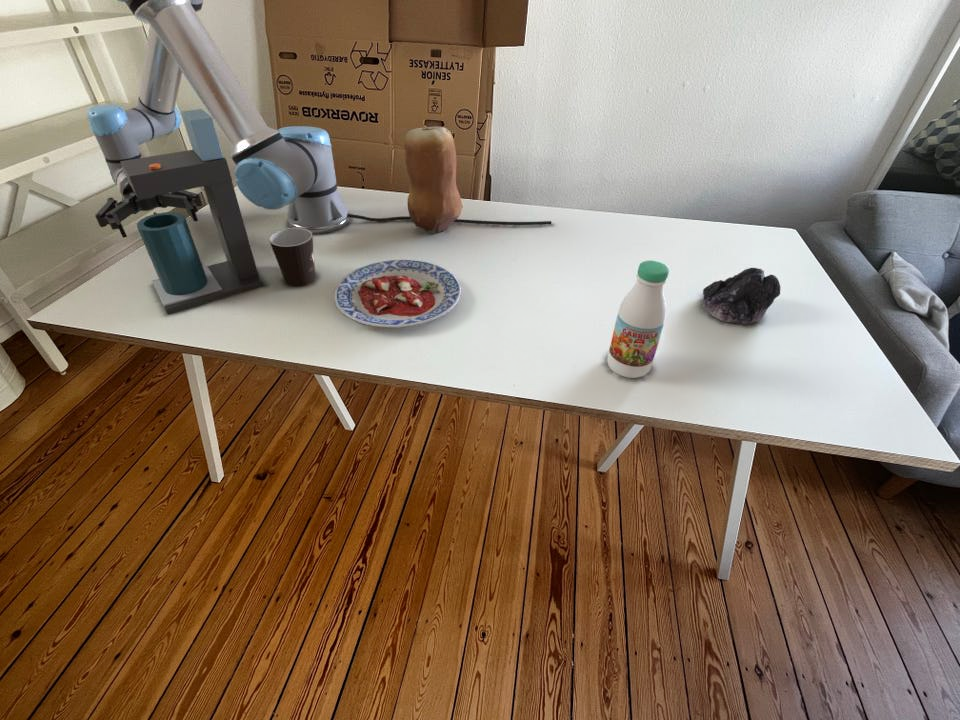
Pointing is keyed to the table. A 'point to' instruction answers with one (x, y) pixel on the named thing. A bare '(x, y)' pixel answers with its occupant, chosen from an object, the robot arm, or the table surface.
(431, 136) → the butternut squash
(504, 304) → the table surface
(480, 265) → the table surface
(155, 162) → the coffee maker
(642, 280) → the milk bottle
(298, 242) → the coffee mug
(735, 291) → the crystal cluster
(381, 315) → the ceramic plate
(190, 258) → the teal tumbler
